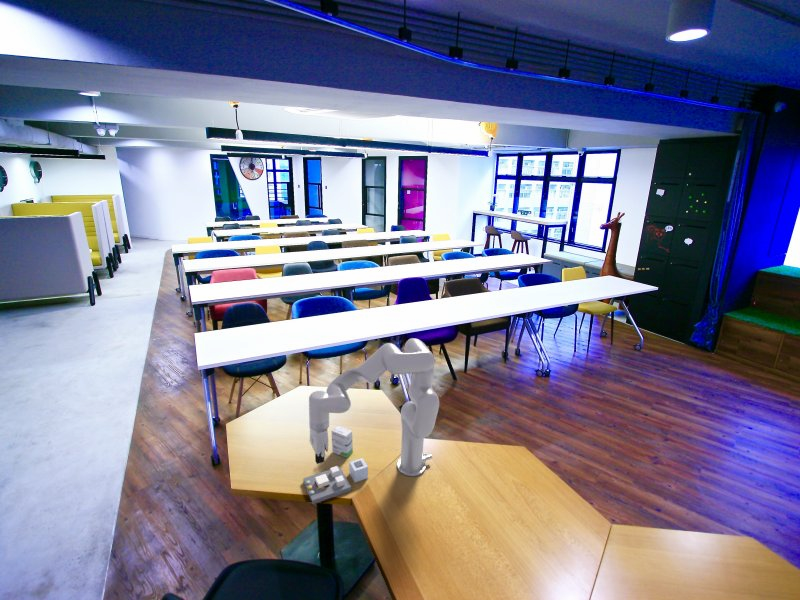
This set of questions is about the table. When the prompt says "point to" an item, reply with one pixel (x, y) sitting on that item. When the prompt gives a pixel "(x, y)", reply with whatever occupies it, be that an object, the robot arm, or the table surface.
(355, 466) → the cap
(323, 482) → the button
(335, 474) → the breaker panel
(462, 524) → the table surface
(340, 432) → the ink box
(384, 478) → the table surface
